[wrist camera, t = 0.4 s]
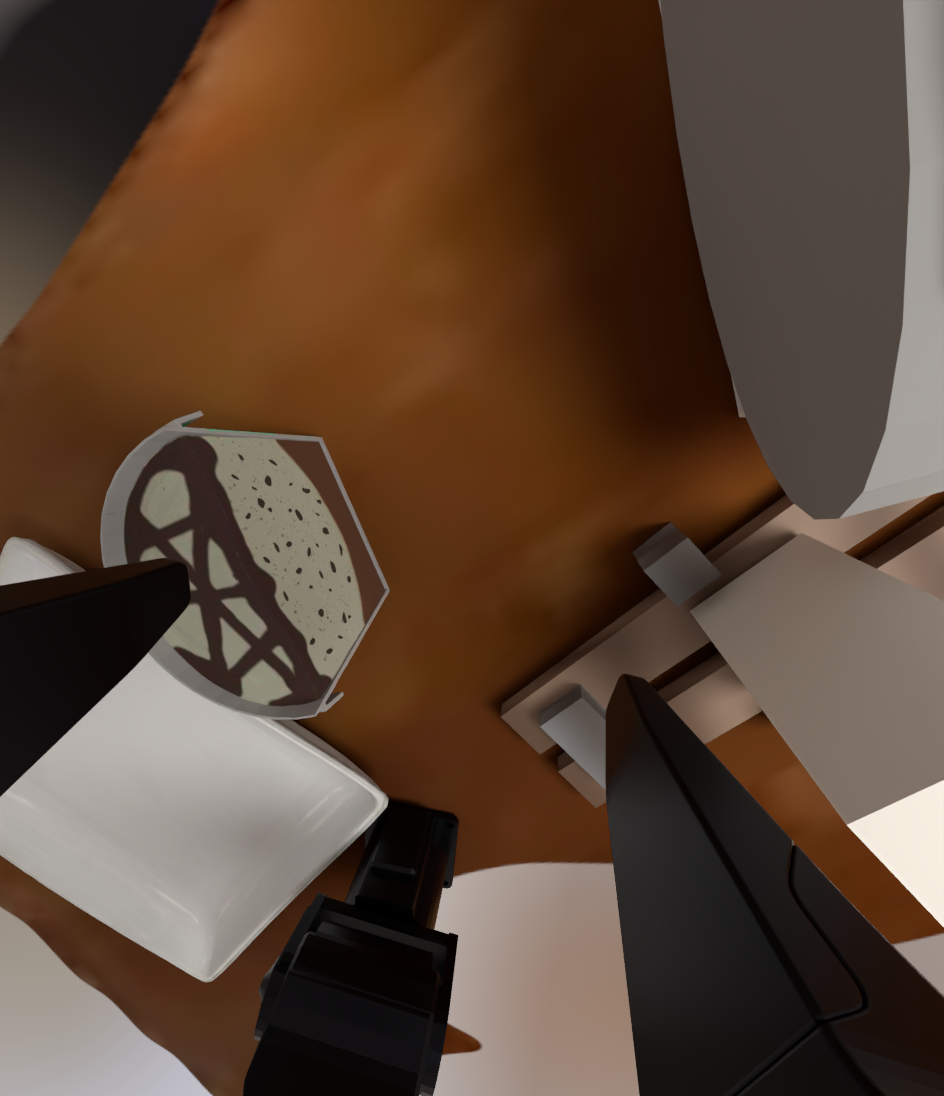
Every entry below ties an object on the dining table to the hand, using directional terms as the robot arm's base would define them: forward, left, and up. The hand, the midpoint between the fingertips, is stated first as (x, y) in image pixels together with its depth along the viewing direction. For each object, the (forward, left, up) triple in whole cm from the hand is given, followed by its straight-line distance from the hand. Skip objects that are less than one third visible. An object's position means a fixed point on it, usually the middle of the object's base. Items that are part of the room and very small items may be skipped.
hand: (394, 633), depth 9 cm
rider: (-4, -15, -14) cm, 21 cm away
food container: (-4, +10, -16) cm, 19 cm away
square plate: (-23, +22, -16) cm, 36 cm away
